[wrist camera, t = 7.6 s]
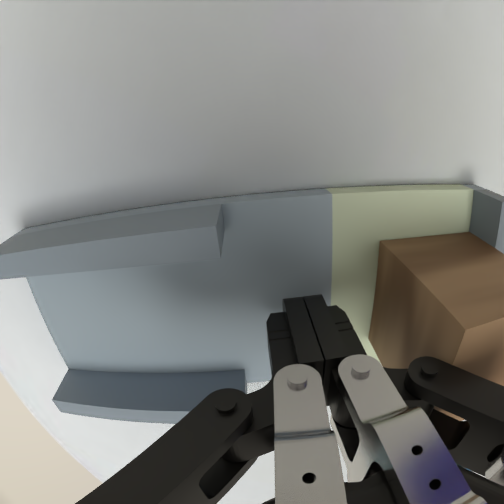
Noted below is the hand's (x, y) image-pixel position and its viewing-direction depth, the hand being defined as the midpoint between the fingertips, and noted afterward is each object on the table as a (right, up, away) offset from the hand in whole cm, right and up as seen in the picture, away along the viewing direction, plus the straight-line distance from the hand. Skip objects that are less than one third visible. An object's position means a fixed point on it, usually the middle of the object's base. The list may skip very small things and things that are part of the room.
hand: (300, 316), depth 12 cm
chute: (-2, +1, +2) cm, 3 cm away
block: (+6, +1, +1) cm, 6 cm away
